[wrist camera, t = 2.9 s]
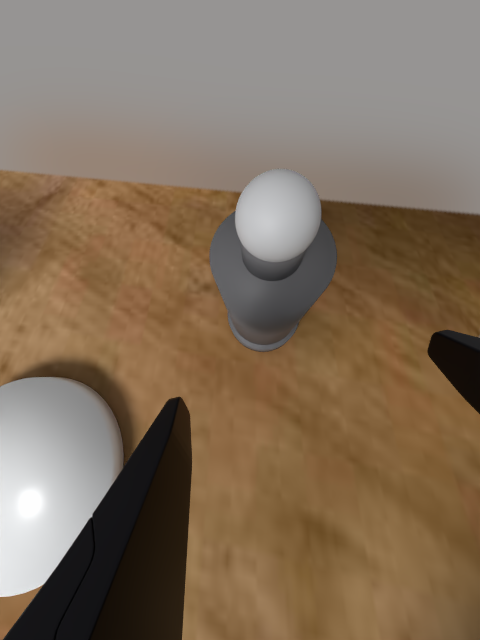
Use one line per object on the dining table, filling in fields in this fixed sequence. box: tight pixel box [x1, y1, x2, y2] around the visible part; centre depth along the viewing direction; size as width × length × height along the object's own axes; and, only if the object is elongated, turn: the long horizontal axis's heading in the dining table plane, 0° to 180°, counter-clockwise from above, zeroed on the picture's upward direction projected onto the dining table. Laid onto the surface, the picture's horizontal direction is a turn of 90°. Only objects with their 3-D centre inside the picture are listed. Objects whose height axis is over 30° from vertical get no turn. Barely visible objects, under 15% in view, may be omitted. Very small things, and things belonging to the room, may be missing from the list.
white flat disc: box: [0, 377, 124, 597], centre depth 17 cm, size 14×14×2 cm
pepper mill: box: [210, 169, 337, 352], centre depth 13 cm, size 6×6×14 cm
